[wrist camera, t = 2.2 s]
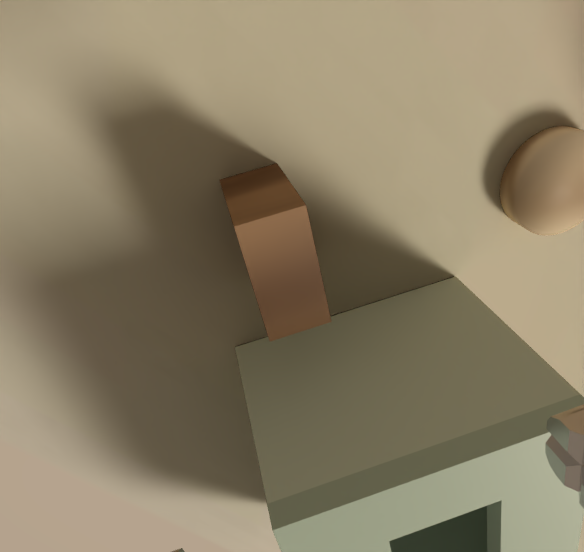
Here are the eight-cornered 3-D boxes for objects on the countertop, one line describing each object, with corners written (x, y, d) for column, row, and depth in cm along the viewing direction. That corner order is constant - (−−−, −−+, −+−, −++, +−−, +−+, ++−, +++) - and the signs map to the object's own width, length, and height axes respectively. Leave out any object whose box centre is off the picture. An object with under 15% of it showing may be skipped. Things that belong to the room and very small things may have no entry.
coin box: (234, 347, 25) (272, 530, 16) (455, 276, 26) (601, 413, 17) (293, 508, 32) (340, 693, 23) (463, 448, 33) (567, 604, 24)
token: (219, 179, 20) (233, 226, 16) (276, 162, 21) (305, 205, 16) (250, 278, 23) (269, 341, 19) (300, 263, 23) (331, 321, 19)
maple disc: (497, 141, 23) (516, 149, 21) (594, 112, 23) (619, 118, 22) (496, 235, 25) (514, 247, 24) (584, 208, 26) (606, 218, 24)
